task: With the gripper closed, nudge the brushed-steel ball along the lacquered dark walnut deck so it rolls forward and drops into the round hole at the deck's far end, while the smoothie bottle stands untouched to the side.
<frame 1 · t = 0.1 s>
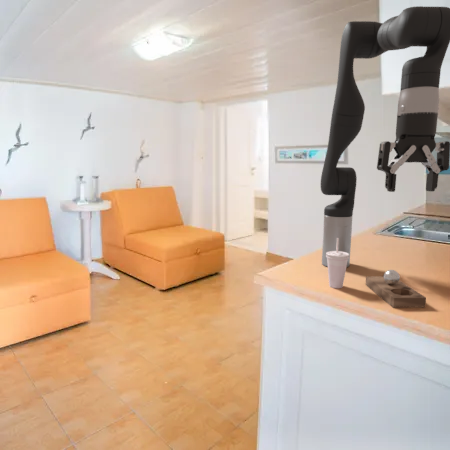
hand: (410, 191, 80), 29 cm above the counter, tool pointing down, fingers open, 8 cm apart
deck: (392, 295, 100), on the counter
smoothie: (335, 286, 107), on the counter
ball: (391, 277, 101), point 4 cm above the counter, touching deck
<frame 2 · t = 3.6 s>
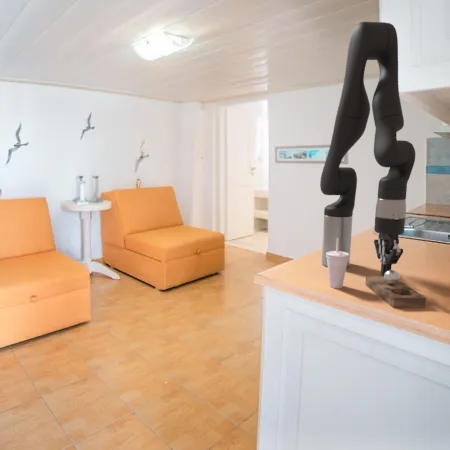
hand: (385, 276, 104), 4 cm above the counter, tool pointing down, fingers closed
ball: (391, 277, 101), point 5 cm above the counter, touching gripper
everything else where it was.
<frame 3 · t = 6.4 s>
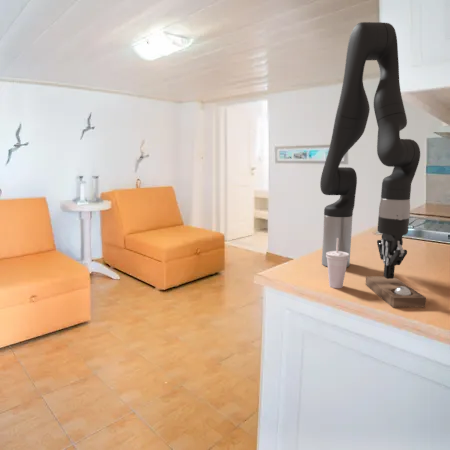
hand: (388, 277, 103), 4 cm above the counter, tool pointing down, fingers closed
ball: (402, 294, 95), point 2 cm above the counter, tilted 101°
everything else where it was.
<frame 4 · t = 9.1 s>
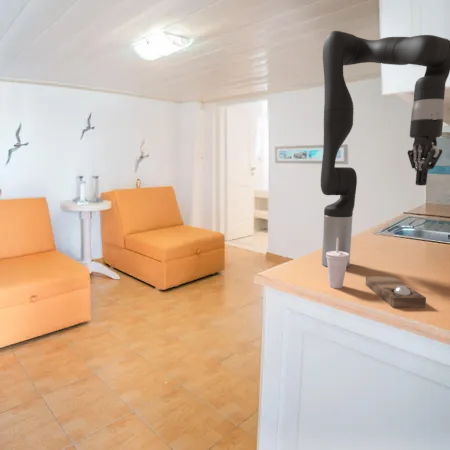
hand: (420, 185, 101), 29 cm above the counter, tool pointing down, fingers closed
ball: (401, 293, 95), point 2 cm above the counter, tilted 94°
everything else where it was.
at the end: ball 0.0 cm from the target spot in the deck, point 2.0 cm above the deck's base; ball touching counter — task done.
